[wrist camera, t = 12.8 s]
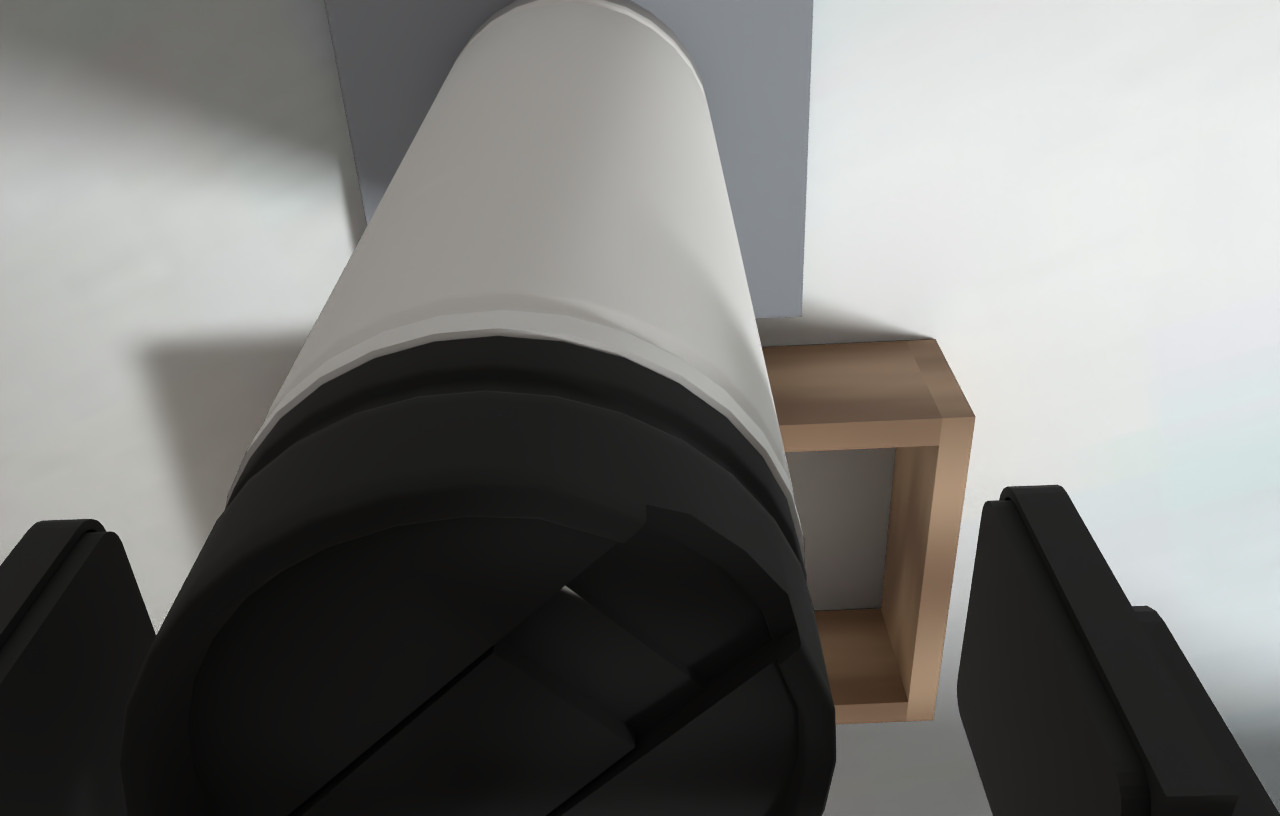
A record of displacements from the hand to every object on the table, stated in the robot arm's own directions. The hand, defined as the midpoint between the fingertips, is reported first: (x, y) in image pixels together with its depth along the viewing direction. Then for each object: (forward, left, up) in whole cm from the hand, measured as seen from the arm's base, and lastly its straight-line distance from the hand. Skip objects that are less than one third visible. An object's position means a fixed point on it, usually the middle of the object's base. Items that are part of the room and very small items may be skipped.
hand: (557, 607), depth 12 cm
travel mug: (0, +1, -17) cm, 17 cm away
